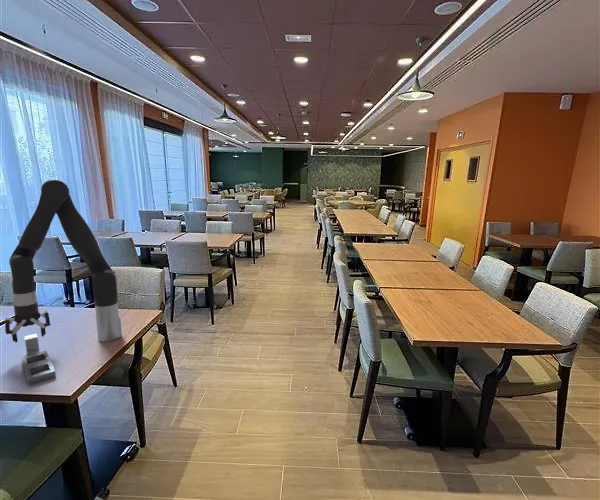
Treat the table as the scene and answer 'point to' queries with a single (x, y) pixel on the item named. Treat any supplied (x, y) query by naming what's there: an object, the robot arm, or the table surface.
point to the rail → (38, 367)
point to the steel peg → (31, 344)
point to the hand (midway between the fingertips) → (29, 338)
